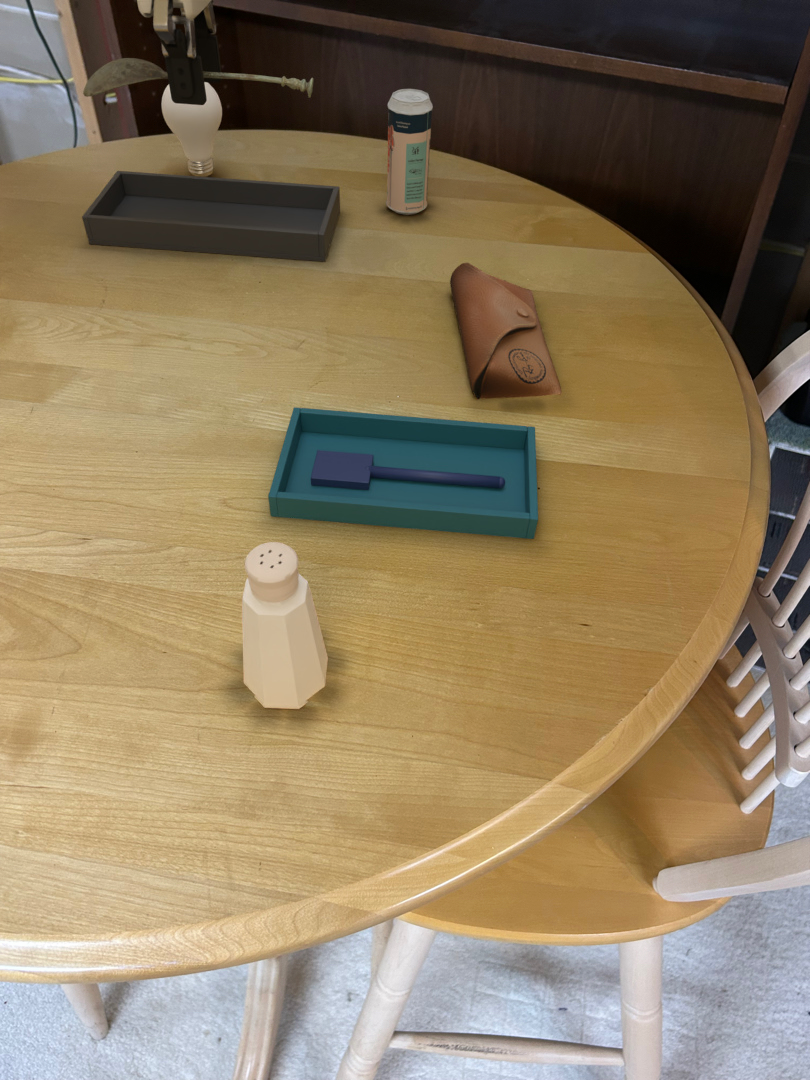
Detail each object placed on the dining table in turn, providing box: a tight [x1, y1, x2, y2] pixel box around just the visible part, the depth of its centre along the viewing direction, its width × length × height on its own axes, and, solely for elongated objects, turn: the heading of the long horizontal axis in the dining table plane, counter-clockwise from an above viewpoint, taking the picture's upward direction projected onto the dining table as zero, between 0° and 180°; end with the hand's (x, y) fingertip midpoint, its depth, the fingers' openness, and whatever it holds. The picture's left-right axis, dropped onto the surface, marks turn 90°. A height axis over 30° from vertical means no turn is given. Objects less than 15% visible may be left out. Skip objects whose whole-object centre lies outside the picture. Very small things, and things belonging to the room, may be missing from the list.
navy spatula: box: [311, 450, 505, 490], centre depth 61 cm, size 15×3×1 cm, turn 85°
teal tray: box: [267, 406, 539, 540], centre depth 61 cm, size 19×10×2 cm, turn 85°
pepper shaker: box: [241, 541, 329, 710], centre depth 46 cm, size 5×5×11 cm
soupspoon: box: [82, 57, 314, 99], centre depth 76 cm, size 22×3×7 cm
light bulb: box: [161, 82, 223, 177], centre depth 92 cm, size 7×7×11 cm
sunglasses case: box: [449, 262, 562, 400], centre depth 74 cm, size 18×7×7 cm
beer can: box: [385, 88, 434, 216], centre depth 89 cm, size 5×5×12 cm
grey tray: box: [81, 170, 341, 262], centre depth 87 cm, size 25×11×3 cm, turn 85°
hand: (197, 89), depth 77 cm, fingers closed on soupspoon, 5 cm apart
